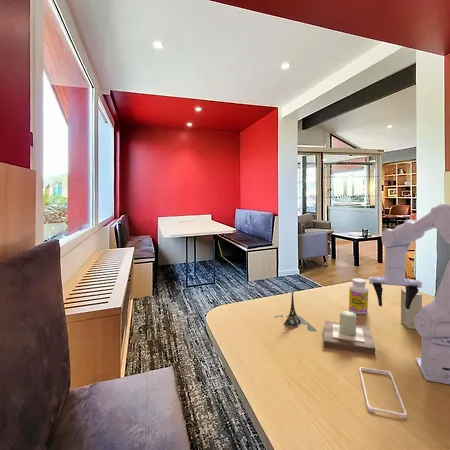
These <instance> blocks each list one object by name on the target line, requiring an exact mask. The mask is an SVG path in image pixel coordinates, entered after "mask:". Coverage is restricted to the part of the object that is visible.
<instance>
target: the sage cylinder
mask: <svg viewBox="0 0 450 450" xmlns="http://www.w3.org/2000/svg"><path fill="white" fill-rule="evenodd" d="M339 323H340V333H342V334H344V335H347V336H354V335H355V334H356V325H357V314H355V313H353V312H351V311H350V310H347V311H346V310H343V311H340V312H339Z"/></svg>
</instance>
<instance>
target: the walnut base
mask: <svg viewBox="0 0 450 450" xmlns="http://www.w3.org/2000/svg"><path fill="white" fill-rule="evenodd" d="M323 333H324V335H323V348H331V349H336V350H341V351H347V352H348V351H349V352H354V353H361V354H367V355H373V356H375V355H376V346H375V341H374V338H373V335H372V331H371V327H370V326H367V325H361V324H360V325H359V324H356V334H355V335H354V336H347V335H344V334H342V333H340V322H336V321H329V320H328V321H327V320H324V332H323Z"/></svg>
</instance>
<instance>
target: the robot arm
mask: <svg viewBox="0 0 450 450" xmlns="http://www.w3.org/2000/svg"><path fill="white" fill-rule="evenodd" d="M433 229H436V230H437V232H438V233H439V234H440V236H441V237H442V238H443V240H444V241H445V242H446V243H447V244H448V245H450V204H447V203H440V204H438V205H437V206H434V207H432V208H431V209H430V212H428V213H427V214H425V215H423V216H422V217H420V218H419V219H417V220H416V219H412V218H411V219H405V220H404V223H402V224H400V225H398V224H397V225H396V226H395V228H393V229H390V228H385V229H384V230H383V231H382V233H381V242H382V244H383V246H384V247H385V248H384V250H385V251H384V273H383V274H384V276H369V277H368V284H369V285H372V286H373V290H374V291H375V294H376V296H377V300H378V306H379V307H382V306H383V290H384V288H383V285H386V286H399V287H405V289H406V300H405V307H406V309H409V308H410V305H411V302H412V300H413V298H414V297H415V295H416V294H417V293H418V292H419V288H420V289H423V281H422V280H420V279H412V278H406V264H407V253H408V251H409V248H410V245H411V243H412V242H415V241H417V240H419V239H421V238H423V237H424V236H425V234H426V232H427V231H430V230H433ZM414 324H415V328H416V332H417V334H418V335H420V337H421V352H420V354H421V355H420V357H415V361H416V363H417V365H418V367H419V369H420V372H421V373H422V375H423V377H424V379H425V380H426V381H428V382H434V383H441V384H447V385H450V259H449V260H448V263H447V266H446V268H445V271H444V273H443V276H442V278H441V281H440V283H439V285H438V289H437V291H436V294H435V296H434V299H433V300H432V301H431V302H430V303H427V304H425V305H424V306H422V309H421V311H420V312H419V313H418V314H417V315H416V316H415V319H414Z"/></svg>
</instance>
